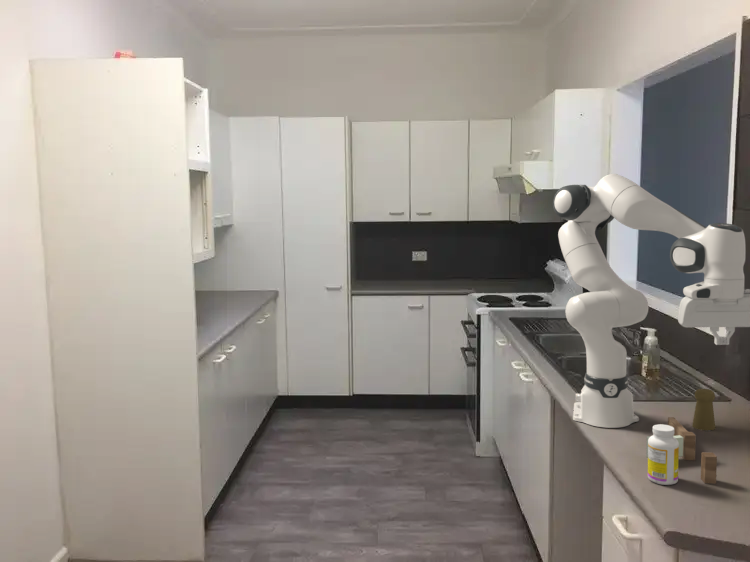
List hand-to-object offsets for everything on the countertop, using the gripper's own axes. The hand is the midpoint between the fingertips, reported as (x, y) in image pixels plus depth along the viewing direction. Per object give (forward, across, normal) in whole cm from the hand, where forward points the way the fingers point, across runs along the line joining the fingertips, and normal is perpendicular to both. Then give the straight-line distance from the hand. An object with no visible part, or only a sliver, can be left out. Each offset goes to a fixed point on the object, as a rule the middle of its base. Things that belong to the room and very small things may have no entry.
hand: (721, 344), depth 165 cm
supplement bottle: (+29, +18, +15) cm, 38 cm away
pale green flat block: (+28, +14, +4) cm, 32 cm away
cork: (+29, -4, -21) cm, 36 cm away
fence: (+29, +8, +2) cm, 30 cm away
